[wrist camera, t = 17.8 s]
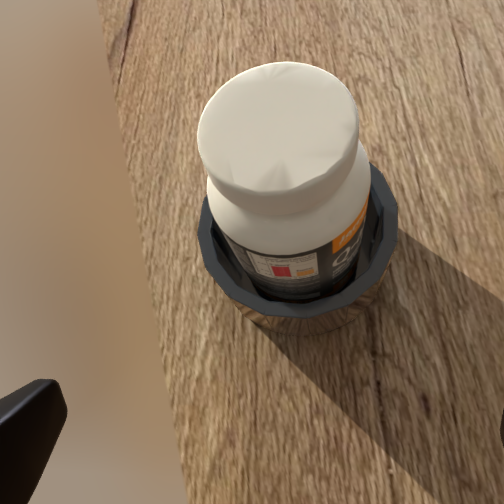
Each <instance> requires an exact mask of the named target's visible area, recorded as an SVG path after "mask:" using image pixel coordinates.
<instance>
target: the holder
mask: <svg viewBox="0 0 504 504" xmlns="http://www.w3.org/2000/svg"><path fill="white" fill-rule="evenodd" d="M369 165H370V170H371V185H370V192H369V197H368V204H367V210H366V219H365V223H364V229H363V235H362V242H361V250H360V255H359V260H358V263H357V266H356V269H355V271H354V273H353V275H352V277H351V278H350V280H349V281H348V282H347V284H346V285H345V286H344V287H343V288H342V289H341V290H340V291H338V292H337V293H336V294H334V295H331V296H328V297H325V298H322V299H319V300H316V301H312V302H309V303H306V304H300V303H286V302H277V301H275V300H273V299H271V298H269V297H268V296H266V295H265V294H263V293H262V292H261V291H260V290H259V289H258V288H257V287H256V286H255V285H254V284H253V283H252V281H251V280H250V279H249V277H248V276H247V274H246V273H245V271H244V269H243V267H242V265H241V264H240V262H239V261H238V259H237V257H236V255H235V254H234V252H233V250H232V249H231V247H230V245H229V243H228V242H227V240H226V238H225V236H224V235H223V233H222V231H221V230H220V228H219V226H218V224H217V223H216V221H215V219H214V217H213V215H212V213H211V210H210V207H209V201H208V196H207V195H206V197H205V198H204V201H203V204H202V210H201V215H200V221H199V227H198V232H197V233H198V234H197V236H198V240H199V244H200V249H201V253H202V257H203V261H204V265H205V268H206V270H207V271H208V272H209V273H210V275H211V276H212V277H213V278H214V280H215V281H216V282H217V283H218V285H219V286H220V287H221V288H222V290H223V291H224V292H225V293H226V295H227V296H228V297H229V298H230V300H231V301H232V302H233V303H234V304H235V306H236V307H237V308H238V309H239V310H240V312H241V313H242V314H243V315H244V316H245V317H247V318H249V319H250V320H252V321H253V322H255V323H257V324H258V325H260V326H262V327H264V328H266V329H268V330H271V331H274V332H277V333H280V334H286V335H292V336H310V335H318V334H322V333H326V332H329V331H332V330H335V329H337V328H339V327H341V326H343V325H345V324H347V323H349V322H350V321H351V320H353V319H354V318H356V317H357V316H358V315H359V314H360V313H361V312H362V311H363V310H364V309H365V308H367V306H368V305H369V304H370V303H371V302H372V301H373V300H374V298H375V296H376V293H377V292H378V290H379V288H380V285H381V283H382V281H383V279H384V277H385V275H386V272H387V270H388V267H389V265H390V262H391V259H392V257H393V254H394V252H395V249H396V246H397V242H398V206H397V202H396V200H395V198H394V196H393V194H392V192H391V190H390V188H389V186H388V184H387V182H386V180H385V178H384V175H383V173H381V171H379V170H378V169H377V168H376V167H375V166H373V165H372V164H371V163H370V162H369Z"/></svg>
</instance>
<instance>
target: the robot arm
mask: <svg viewBox="0 0 504 504" xmlns="http://www.w3.org/2000/svg"><path fill="white" fill-rule="evenodd" d="M66 418H67V406H66V403H65V400H64V397H63V394H62V391H61V388H60V385H59V383H58V382H57V381H56V380H53V379H37V380H34V381H33V382H31V383H29V384H27V385H25V386H24V387H22V388H20V389H18V390H16V391H15V392H13V393H11V394H9V395H8V396H6V397H4V398H2V399H0V504H28V502H29V500H30V498H31V496H32V494H33V492H34V490H35V489H36V486H37V484H38V482H39V480H40V478H41V476H42V474H43V471H44V469H45V467H46V464H47V462H48V460H49V458H50V455H51V453H52V451H53V448H54V446H55V444H56V441H57V439H58V437H59V435H60V433H61V430H62V428H63V426H64V423H65V421H66ZM500 434H501V440H502V443H503V446H504V410H503V415H502V421H501V426H500Z"/></svg>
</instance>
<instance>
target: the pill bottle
mask: <svg viewBox="0 0 504 504" xmlns="http://www.w3.org/2000/svg"><path fill="white" fill-rule="evenodd" d="M197 142H198V149H199V153H200V156H201V159H202V162H203V164H204V166H205V168H206V171H207V173H208V179H207V196H208V201H209V207H210V210H211V213H212V215H213V217H214V219H215V221H216V223H217V224H218V226H219V228H220V230H221V231H222V233H223V235H224V236H225V238H226V240H227V242H228V243H229V245H230V247H231V249H232V250H233V252H234V254H235V255H236V257H237V259H238V261H239V262H240V264H241V265H242V267H243V269H244V271H245V273H246V274H247V276H248V277H249V279H250V280H251V281H252V283H253V284H254V285H255V286H256V287H257V288H258V289H259V290H260V291H261V292H262V293H263V294H265V295H266V296H268V297H269V298H271V299H273V300H275V301H277V302H286V303H300V304H306V303H309V302H312V301H316V300H319V299H322V298H325V297H328V296H331V295H334V294H336V293H337V292H338V291H340V290H341V289H342V288H343V287H344V286H345V285H346V284H347V282H348V281H349V280H350V278H351V277H352V275H353V273H354V271H355V269H356V266H357V263H358V260H359V255H360V250H361V242H362V235H363V229H364V223H365V219H366V210H367V204H368V197H369V192H370V185H371V170H370V165H369V161H368V158H367V155H366V152H365V150H364V148H363V146H362V144H361V142H360V141H359V116H358V110H357V106H356V103H355V101H354V99H353V97H352V95H351V93H350V92H349V90H348V89H347V87H346V86H345V85H344V84H343V83H342V82H341V81H340V80H339V79H337V78H336V77H335V76H333V75H332V74H330V73H329V72H327V71H325V70H323V69H320V68H318V67H315V66H312V65H308V64H303V63H295V62H278V63H270V64H265V65H262V66H258V67H255V68H252V69H249V70H247V71H245V72H243V73H241V74H239V75H237V76H235V77H234V78H232V79H230V80H229V81H228V82H226V83H225V84H224V85H223V86H222V87H221V88H220V89H219V90H218V91H217V92H216V93H215V94H214V95H213V96H212V98H211V99H210V100H209V102H208V103H207V105H206V107H205V109H204V111H203V113H202V115H201V118H200V121H199V125H198V132H197Z"/></svg>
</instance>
